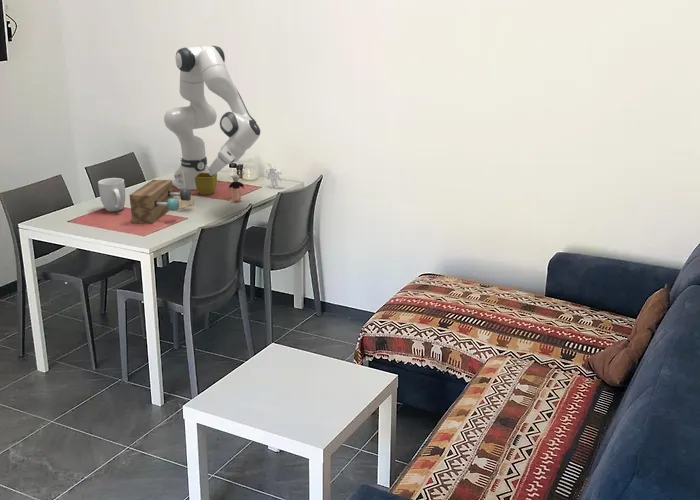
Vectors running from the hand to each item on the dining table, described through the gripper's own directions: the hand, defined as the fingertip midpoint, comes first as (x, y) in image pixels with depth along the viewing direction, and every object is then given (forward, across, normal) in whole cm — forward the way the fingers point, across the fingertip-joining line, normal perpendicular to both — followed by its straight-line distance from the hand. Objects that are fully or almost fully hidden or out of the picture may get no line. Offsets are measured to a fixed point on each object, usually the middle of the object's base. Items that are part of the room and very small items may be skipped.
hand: (210, 174), depth 326 cm
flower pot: (+20, -27, +3) cm, 34 cm away
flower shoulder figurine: (0, -40, +24) cm, 47 cm away
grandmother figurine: (+8, -16, +16) cm, 24 cm away
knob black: (+19, 0, -2) cm, 19 cm away
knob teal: (+19, +15, -2) cm, 24 cm away
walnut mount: (+29, +8, -5) cm, 30 cm away
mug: (+43, +4, -19) cm, 47 cm away
